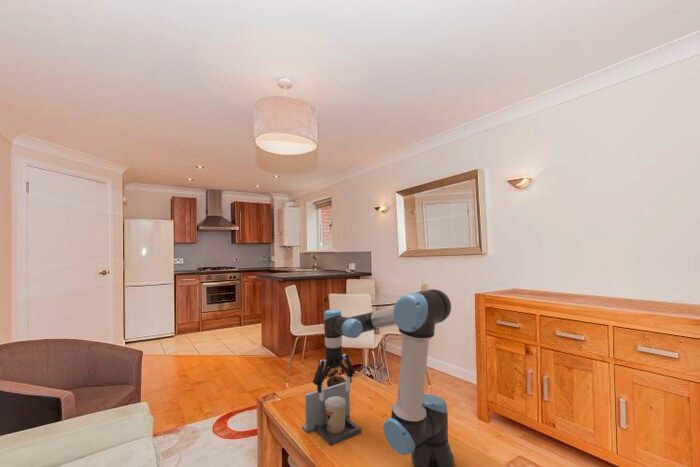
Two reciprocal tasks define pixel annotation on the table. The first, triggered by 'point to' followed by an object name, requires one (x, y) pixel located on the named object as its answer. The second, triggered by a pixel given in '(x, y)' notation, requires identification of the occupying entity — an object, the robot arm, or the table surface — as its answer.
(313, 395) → the wall board
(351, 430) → the plate
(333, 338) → the robot arm
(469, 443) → the table surface
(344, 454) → the table surface
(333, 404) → the coffee cup
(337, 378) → the music box
